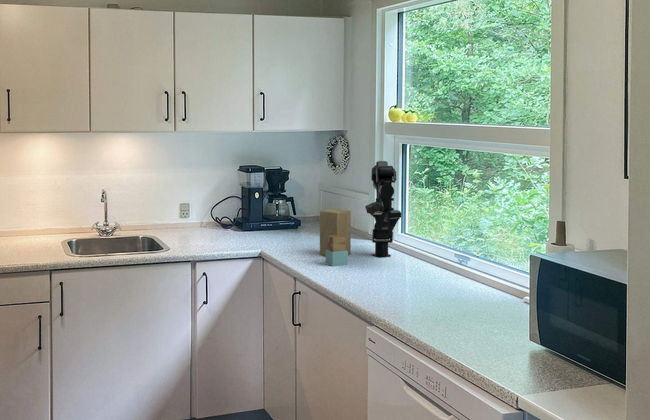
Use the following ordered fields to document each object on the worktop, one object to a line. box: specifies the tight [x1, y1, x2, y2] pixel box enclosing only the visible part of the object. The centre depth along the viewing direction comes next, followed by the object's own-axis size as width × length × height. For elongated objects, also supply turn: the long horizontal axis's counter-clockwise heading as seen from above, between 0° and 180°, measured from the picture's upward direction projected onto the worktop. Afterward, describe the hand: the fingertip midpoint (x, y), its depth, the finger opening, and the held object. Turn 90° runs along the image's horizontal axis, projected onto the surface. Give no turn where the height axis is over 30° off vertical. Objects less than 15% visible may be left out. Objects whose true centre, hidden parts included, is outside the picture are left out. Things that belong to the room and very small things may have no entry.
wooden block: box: [319, 208, 352, 257], centre depth 360 cm, size 10×10×20 cm
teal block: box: [325, 250, 349, 267], centre depth 340 cm, size 7×7×6 cm
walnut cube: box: [328, 235, 345, 252], centre depth 339 cm, size 6×6×6 cm
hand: (384, 232), depth 342 cm, fingers open, 9 cm apart
